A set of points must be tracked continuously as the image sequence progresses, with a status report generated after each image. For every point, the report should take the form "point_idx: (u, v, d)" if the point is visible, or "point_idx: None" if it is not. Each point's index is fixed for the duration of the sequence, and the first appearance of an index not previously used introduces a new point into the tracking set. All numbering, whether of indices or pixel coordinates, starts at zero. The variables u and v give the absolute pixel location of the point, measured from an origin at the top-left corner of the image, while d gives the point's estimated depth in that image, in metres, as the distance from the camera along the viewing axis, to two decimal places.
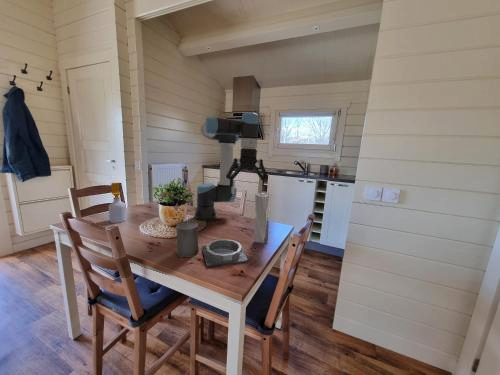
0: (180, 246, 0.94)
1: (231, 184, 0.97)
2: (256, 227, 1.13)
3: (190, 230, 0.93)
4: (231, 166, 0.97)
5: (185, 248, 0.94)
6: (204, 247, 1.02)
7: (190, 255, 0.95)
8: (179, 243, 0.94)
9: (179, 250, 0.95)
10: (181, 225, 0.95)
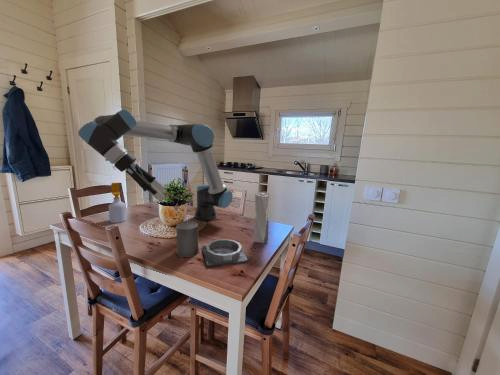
0: (180, 246, 0.94)
1: None
2: (256, 227, 1.13)
3: (190, 230, 0.93)
4: None
5: (185, 248, 0.94)
6: (204, 247, 1.02)
7: (190, 255, 0.95)
8: (179, 243, 0.94)
9: (179, 250, 0.95)
10: (181, 225, 0.95)
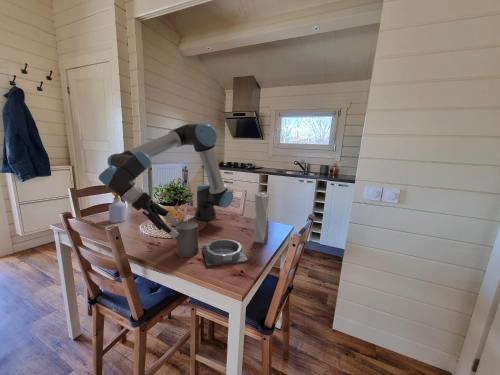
0: (180, 246, 0.94)
1: None
2: (256, 227, 1.13)
3: (190, 230, 0.93)
4: (156, 205, 0.97)
5: (185, 248, 0.94)
6: (204, 247, 1.02)
7: (190, 255, 0.95)
8: (179, 243, 0.94)
9: (179, 250, 0.95)
10: (181, 225, 0.95)
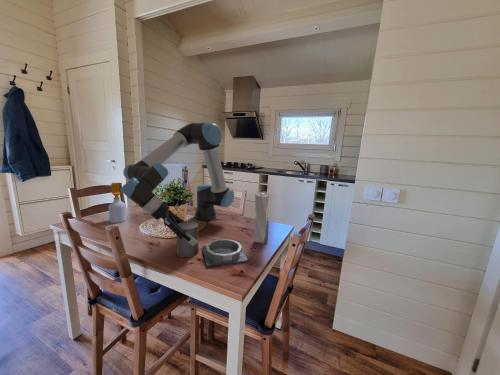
0: (180, 246, 0.94)
1: None
2: (256, 227, 1.13)
3: (190, 230, 0.93)
4: None
5: (185, 248, 0.94)
6: (204, 247, 1.02)
7: (190, 255, 0.95)
8: (179, 243, 0.94)
9: (179, 250, 0.95)
10: (181, 225, 0.95)
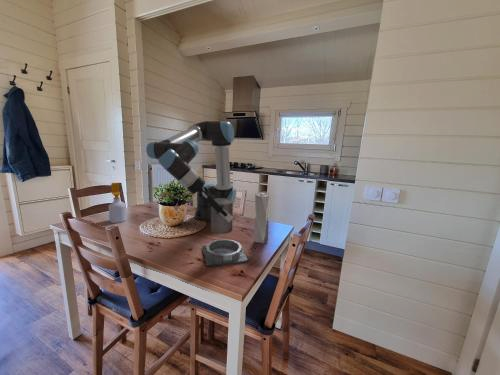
0: (215, 222, 0.91)
1: None
2: (256, 227, 1.13)
3: (226, 205, 0.89)
4: None
5: (220, 224, 0.90)
6: (204, 247, 1.02)
7: (225, 232, 0.92)
8: (215, 219, 0.91)
9: (214, 226, 0.92)
10: (216, 201, 0.92)
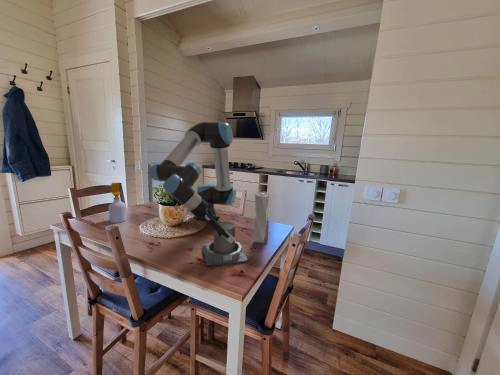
0: (218, 246, 0.93)
1: None
2: (256, 227, 1.13)
3: (228, 230, 0.92)
4: None
5: (223, 248, 0.93)
6: (204, 247, 1.02)
7: None
8: (218, 243, 0.93)
9: (217, 250, 0.94)
10: None
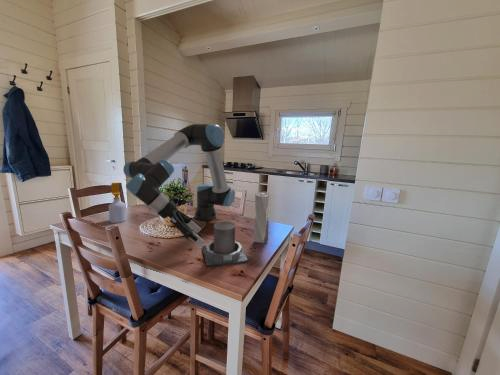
0: (218, 246, 0.93)
1: None
2: (256, 227, 1.13)
3: (228, 230, 0.92)
4: (179, 212, 0.96)
5: (223, 249, 0.93)
6: (204, 247, 1.02)
7: None
8: (218, 244, 0.93)
9: (217, 251, 0.94)
10: (219, 226, 0.94)
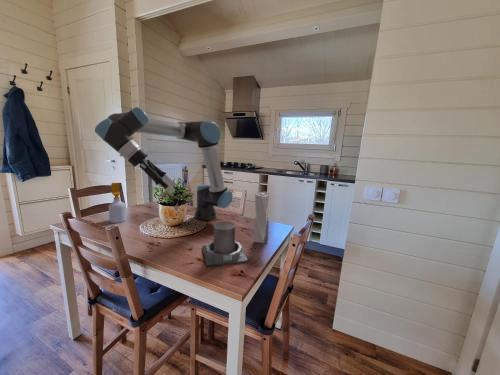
0: (218, 246, 0.93)
1: None
2: (256, 227, 1.13)
3: (228, 230, 0.92)
4: None
5: (223, 249, 0.93)
6: (204, 247, 1.02)
7: None
8: (218, 243, 0.93)
9: (217, 250, 0.94)
10: (219, 226, 0.94)
